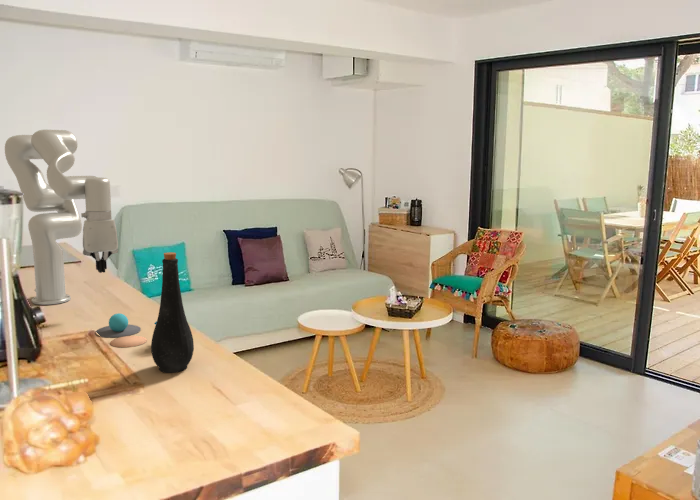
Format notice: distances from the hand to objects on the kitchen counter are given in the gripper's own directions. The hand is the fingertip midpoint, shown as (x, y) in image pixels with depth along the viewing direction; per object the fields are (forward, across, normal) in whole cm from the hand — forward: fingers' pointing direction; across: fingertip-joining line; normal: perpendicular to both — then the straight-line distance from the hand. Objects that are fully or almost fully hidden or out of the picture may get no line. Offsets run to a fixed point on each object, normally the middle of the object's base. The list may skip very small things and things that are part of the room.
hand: (101, 271), depth 199 cm
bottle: (+15, +4, -58) cm, 60 cm away
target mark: (+15, 0, -19) cm, 24 cm away
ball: (+12, 0, -20) cm, 23 cm away
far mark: (+15, 0, -31) cm, 34 cm away
